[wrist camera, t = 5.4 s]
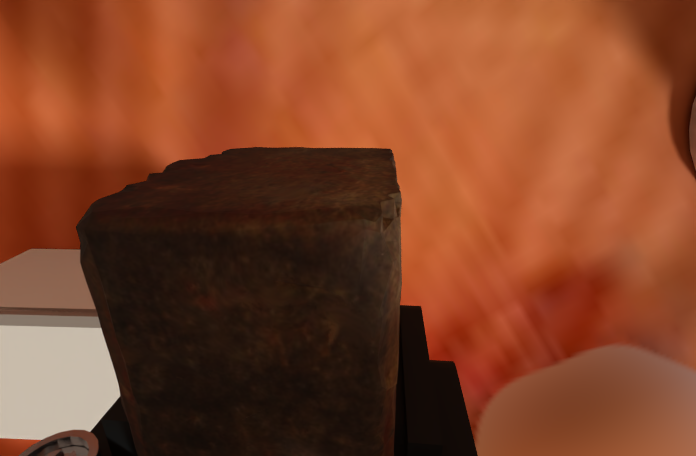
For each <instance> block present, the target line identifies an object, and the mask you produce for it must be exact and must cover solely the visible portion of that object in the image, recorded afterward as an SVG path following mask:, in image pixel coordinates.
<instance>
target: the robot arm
mask: <svg viewBox="0 0 696 456" xmlns="http://www.w3.org/2000/svg"><path fill="white" fill-rule="evenodd" d="M689 138H690V152H691V156H692V159H693V162H694V166H695V169H696V97H695V100H694V102H693V106H692V112H691V119H690V126H689ZM19 456H138V455H137V451H136V447H135V444H134V440H133V436H132V433H131V429H130V425H129V422H128V419H127V417H126V414H125V411H124V409H123V406H122V403H121V396H120V397H119V398H118V399H117V400H116V402H115V403H114V404H113V405H112V406H111V408H110V409H109V410H108V411H107V412H106V414H105V415H104V416H103V417H102V418H101V419H100V421H99V422H98V423H97V424H96V425H95V427H94V428H93V429H92V430H91V431H90V432H88V431H86V430H69V431H64V432H60V433H57V434H54V435H52V436H49V437H46V438H45V439H43V440H41V441H39V442H37V443H36V444H34V445H32V446H31V447H29V448H28V449H27V450H25V451H24V452H23V453H21V454H20V455H19ZM394 456H478V455H477V451H476V447H475V443H474V439H473V435H472V431H471V427H470V423H469V419H468V414H467V410H466V406H465V402H464V398H463V394H462V390H461V386H460V382H459V378H458V374H457V370H456V366H455V363H454V362H453V361H437V360H429V354H428V348H427V341H426V335H425V328H424V322H423V316H422V309H421V306H405V305H400V324H399V363H398V376H397V384H396V410H395V433H394Z"/></svg>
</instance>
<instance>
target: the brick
mask: <svg viewBox="0 0 696 456" xmlns="http://www.w3.org/2000/svg"><path fill="white" fill-rule="evenodd" d="M401 203H402V199H401V192H400V190H399V185H398V183H397V175H396V167H395V161H394V156H393V153H392V150H391V149H379V148H304V147H290V148H263V147H253V148H238V149H229V150H226V151H223V152H222V154H217V155H210V156H208V157H206V158H202V159H189V160H179V161H177V162H174V163H172V164H170V165H168V166H167V167H166V168H165V170H164V172H163V173H153V174H149V176H148V178H147V181H144V182H140V183H135V184H131V185H127V186H126V187H125V188H124V189H123V190H122V191H120V192H118V193H115V194H112V195H110V196H107V197H104V198H101V199H99V200H97V201H96V202H94V203H93V204H92V205H91V206H90V207H89V209H88V210H87V212H86V213H85V215H84V216H83V217H82V219H81V220H80V222H79V223H78V224H77V226H76V229H77V232H78V236H79V239H80V242H81V244H80V264H81V267H82V270H83V273H84V277H85V280H86V283H87V286H88V288H89V291H90V294H91V297H92V300H93V302H94V305H95V308H96V311H97V314H98V318H99V322H100V326H101V329H102V332H103V335H104V339H105V342H106V345H107V348H108V351H109V355H110V358H111V361H112V364H113V367H114V371H115V374H116V377H117V381H118V384H119V390H120V396H121V403H122V406H123V409H124V411H125V414H126V417H127V419H128V422H129V425H130V429H131V433H132V436H133V440H134V444H135V447H136V451H137V455H138V456H394V433H395V410H396V384H397V376H398V363H399V324H400V298H401V286H402V274H401V223H400V217H401Z"/></svg>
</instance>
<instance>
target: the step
mask: <svg viewBox="0 0 696 456" xmlns="http://www.w3.org/2000/svg"><path fill="white" fill-rule="evenodd" d="M119 397H120V390H119V384H118V381H117V377H116V374H115V371H114V367H113V364H112V361H111V358H110V355H109V351H108V348H107V345H106V342H105V339H104V335H103V332H102V329H101V326H100V322H99V318H98V314H97V311H96V308H95V305H94V302H93V300H92V297H91V294H90V291H89V288H88V286H87V283H86V280H85V277H84V273H83V270H82V267H81V264H80V249H29V250H27V251H25V252H23V253H21V254H19V255H17V256H15V257H13V258H11V259H9V260H7V261H5V262H3V263H1V264H0V438H11V439H35V440H43V439H45V438H46V437H49V436H52V435H54V434H57V433H60V432H64V431H69V430H86V431H88V432H90V431H91V430H92V429H93V428H94V427H95V425H96V424H97V423H98V422H99V421H100V419H101V418H102V417H103V416H104V415H105V414H106V412H107V411H108V410H109V409H110V408H111V406H112V405H113V404H114V403H115V402H116V400H117V399H118V398H119Z"/></svg>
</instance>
